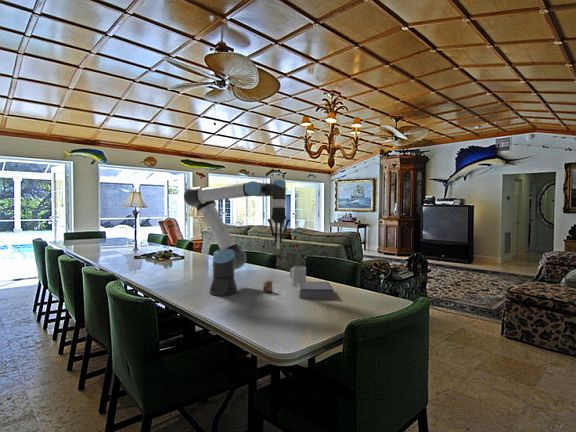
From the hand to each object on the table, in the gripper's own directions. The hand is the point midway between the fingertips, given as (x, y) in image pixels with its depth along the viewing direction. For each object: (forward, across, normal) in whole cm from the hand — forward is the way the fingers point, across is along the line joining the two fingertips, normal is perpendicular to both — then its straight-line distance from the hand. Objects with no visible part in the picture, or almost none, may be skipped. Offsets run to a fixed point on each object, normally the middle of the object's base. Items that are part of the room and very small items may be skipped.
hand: (278, 248), depth 195 cm
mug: (+25, +12, +16) cm, 32 cm away
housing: (+24, +21, -7) cm, 33 cm away
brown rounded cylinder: (+24, -6, -3) cm, 25 cm away
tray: (+24, +21, -7) cm, 33 cm away
